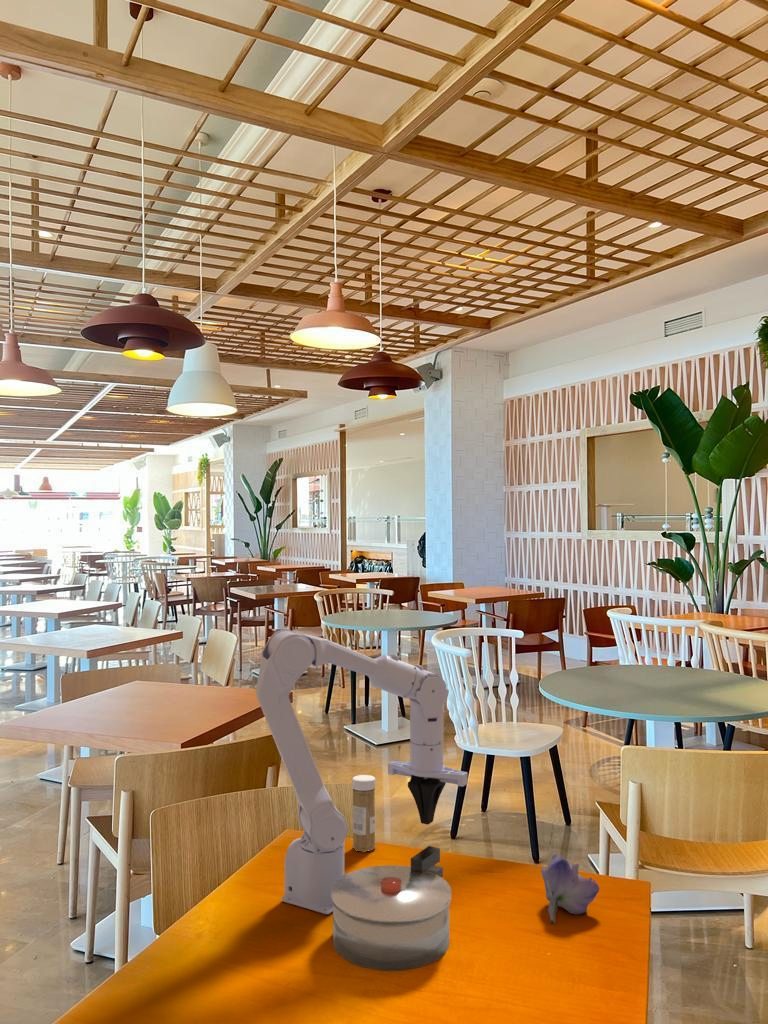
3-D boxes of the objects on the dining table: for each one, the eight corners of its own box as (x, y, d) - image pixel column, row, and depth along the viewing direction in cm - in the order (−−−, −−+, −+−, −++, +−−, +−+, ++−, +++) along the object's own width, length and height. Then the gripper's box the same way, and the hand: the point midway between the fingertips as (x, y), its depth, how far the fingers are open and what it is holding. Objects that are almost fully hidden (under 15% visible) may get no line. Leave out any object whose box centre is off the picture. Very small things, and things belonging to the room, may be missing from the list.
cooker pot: (414, 984, 97) (414, 936, 98) (309, 949, 106) (309, 905, 107) (484, 912, 117) (484, 873, 117) (391, 888, 126) (391, 852, 126)
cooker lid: (413, 936, 97) (413, 916, 98) (306, 904, 107) (306, 885, 107) (484, 875, 116) (484, 858, 116) (388, 852, 126) (388, 836, 126)
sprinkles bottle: (380, 849, 143) (380, 778, 144) (359, 855, 140) (359, 782, 141) (367, 842, 147) (367, 772, 148) (347, 847, 144) (347, 776, 145)
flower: (575, 891, 110) (578, 839, 119) (524, 904, 114) (531, 852, 122) (606, 936, 111) (607, 882, 120) (555, 947, 115) (559, 893, 124)
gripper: (474, 741, 129) (475, 822, 128) (401, 732, 136) (401, 808, 135) (457, 750, 123) (457, 835, 122) (381, 740, 130) (381, 820, 129)
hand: (427, 822), depth 128 cm, fingers closed
